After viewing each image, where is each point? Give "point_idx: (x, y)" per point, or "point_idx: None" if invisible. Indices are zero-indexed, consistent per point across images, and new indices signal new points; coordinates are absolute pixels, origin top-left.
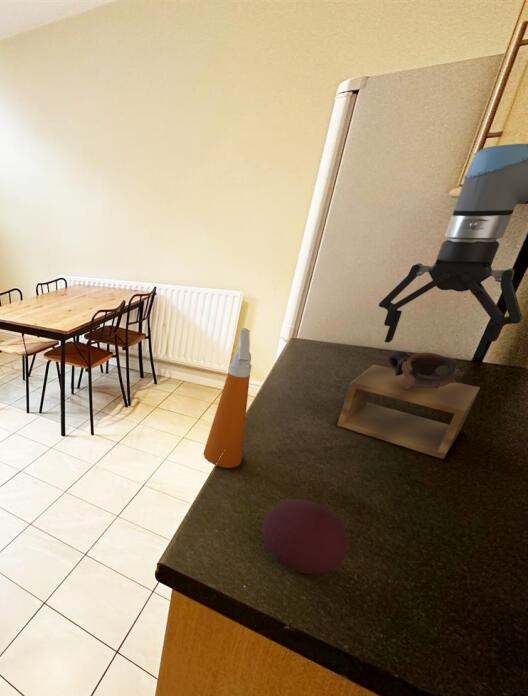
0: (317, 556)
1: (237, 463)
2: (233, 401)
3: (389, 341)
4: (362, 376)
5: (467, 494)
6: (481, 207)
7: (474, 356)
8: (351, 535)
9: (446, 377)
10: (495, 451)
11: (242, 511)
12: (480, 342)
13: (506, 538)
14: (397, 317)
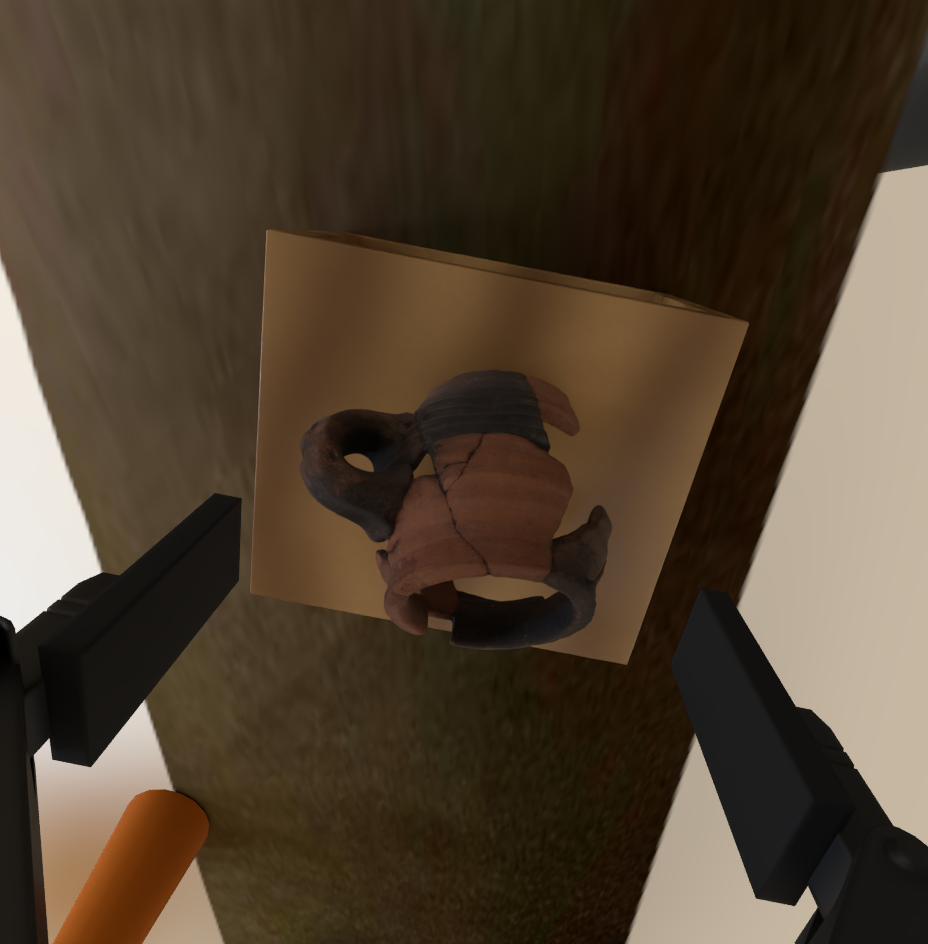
0: None
1: (204, 838)
2: None
3: (235, 576)
4: (268, 491)
5: (621, 692)
6: None
7: (674, 667)
8: (433, 904)
9: (561, 638)
10: (749, 395)
11: (280, 928)
12: (703, 750)
13: (656, 800)
14: (121, 722)
